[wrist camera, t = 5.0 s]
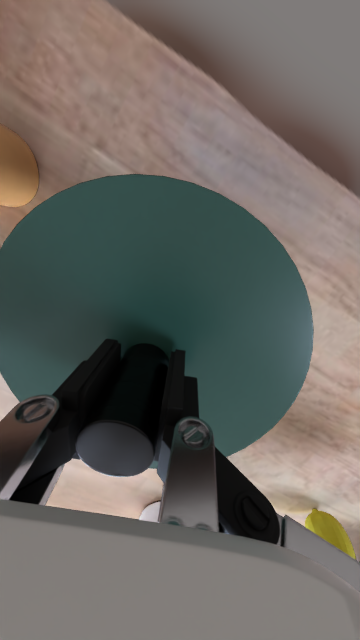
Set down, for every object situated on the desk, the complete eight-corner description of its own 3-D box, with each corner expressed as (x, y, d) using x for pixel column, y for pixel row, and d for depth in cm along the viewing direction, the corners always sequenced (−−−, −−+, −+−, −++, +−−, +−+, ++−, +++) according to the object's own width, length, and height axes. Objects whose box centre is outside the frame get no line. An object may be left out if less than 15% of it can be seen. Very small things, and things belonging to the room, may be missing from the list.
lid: (195, 481, 16) (198, 611, 11) (-21, 387, 14) (-171, 491, 8) (374, 306, 11) (596, 384, 5) (56, 86, 8) (-290, -318, 2)
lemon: (287, 503, 33) (324, 606, 24) (322, 492, 31) (377, 597, 22) (304, 523, 35) (345, 626, 25) (338, 514, 33) (395, 620, 24)
